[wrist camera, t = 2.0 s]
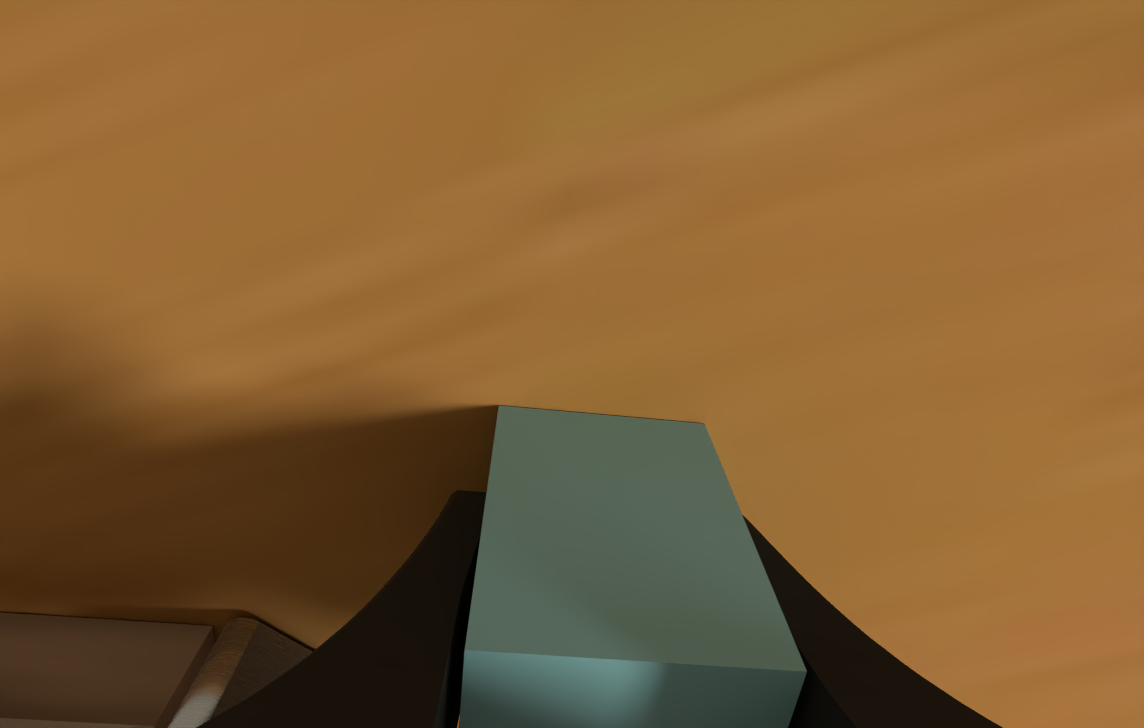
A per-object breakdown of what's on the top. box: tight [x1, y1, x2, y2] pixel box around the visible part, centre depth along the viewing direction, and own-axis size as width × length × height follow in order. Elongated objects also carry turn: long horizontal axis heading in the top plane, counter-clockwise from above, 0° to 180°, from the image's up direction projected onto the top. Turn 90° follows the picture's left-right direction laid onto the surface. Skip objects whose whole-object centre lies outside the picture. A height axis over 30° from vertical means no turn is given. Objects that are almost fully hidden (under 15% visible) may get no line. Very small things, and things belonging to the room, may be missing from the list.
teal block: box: [459, 406, 807, 728], centre depth 12 cm, size 4×4×6 cm
